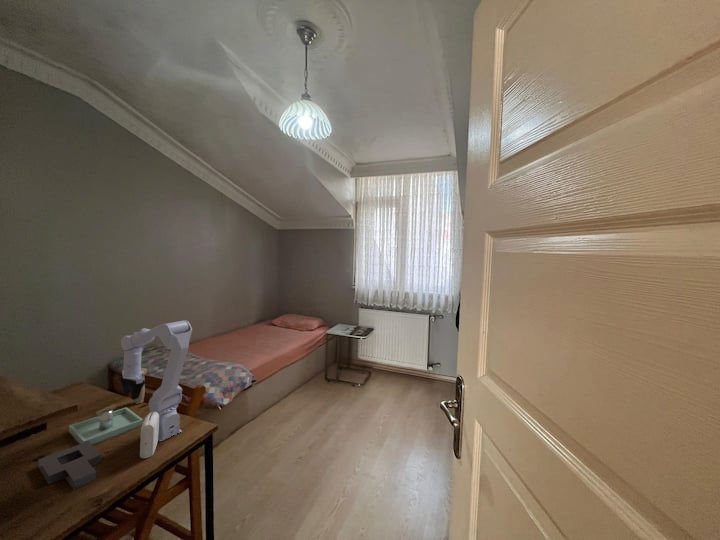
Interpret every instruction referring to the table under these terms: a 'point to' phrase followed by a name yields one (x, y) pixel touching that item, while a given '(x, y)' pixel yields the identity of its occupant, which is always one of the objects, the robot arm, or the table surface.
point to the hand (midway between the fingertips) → (131, 395)
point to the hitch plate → (71, 465)
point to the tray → (90, 430)
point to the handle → (141, 396)
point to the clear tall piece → (106, 417)
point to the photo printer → (149, 435)
